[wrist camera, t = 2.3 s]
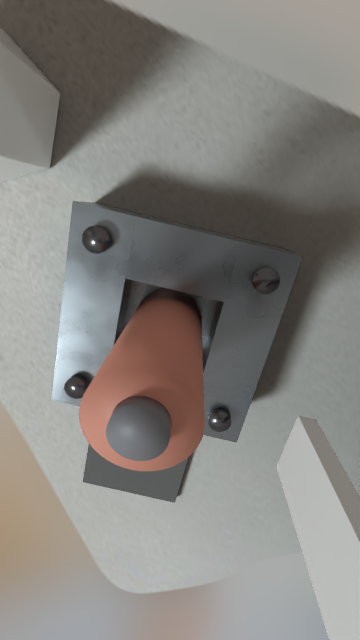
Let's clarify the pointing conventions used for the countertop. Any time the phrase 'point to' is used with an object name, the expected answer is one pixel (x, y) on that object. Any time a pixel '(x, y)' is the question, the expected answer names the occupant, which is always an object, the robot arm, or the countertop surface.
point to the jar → (24, 113)
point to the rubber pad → (134, 477)
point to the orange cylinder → (150, 387)
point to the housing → (177, 274)
